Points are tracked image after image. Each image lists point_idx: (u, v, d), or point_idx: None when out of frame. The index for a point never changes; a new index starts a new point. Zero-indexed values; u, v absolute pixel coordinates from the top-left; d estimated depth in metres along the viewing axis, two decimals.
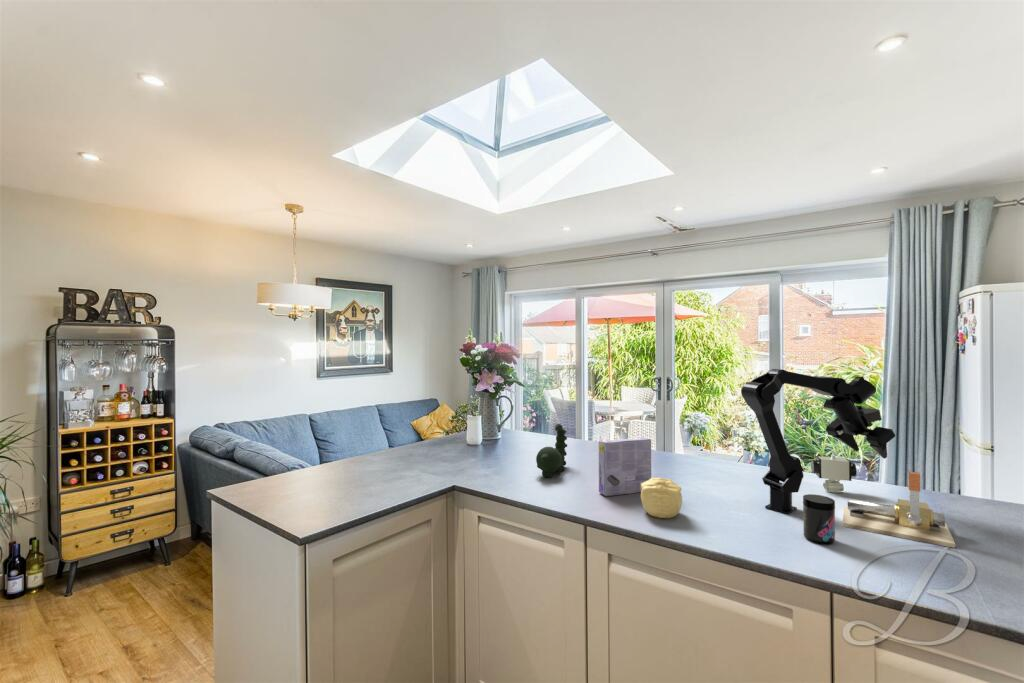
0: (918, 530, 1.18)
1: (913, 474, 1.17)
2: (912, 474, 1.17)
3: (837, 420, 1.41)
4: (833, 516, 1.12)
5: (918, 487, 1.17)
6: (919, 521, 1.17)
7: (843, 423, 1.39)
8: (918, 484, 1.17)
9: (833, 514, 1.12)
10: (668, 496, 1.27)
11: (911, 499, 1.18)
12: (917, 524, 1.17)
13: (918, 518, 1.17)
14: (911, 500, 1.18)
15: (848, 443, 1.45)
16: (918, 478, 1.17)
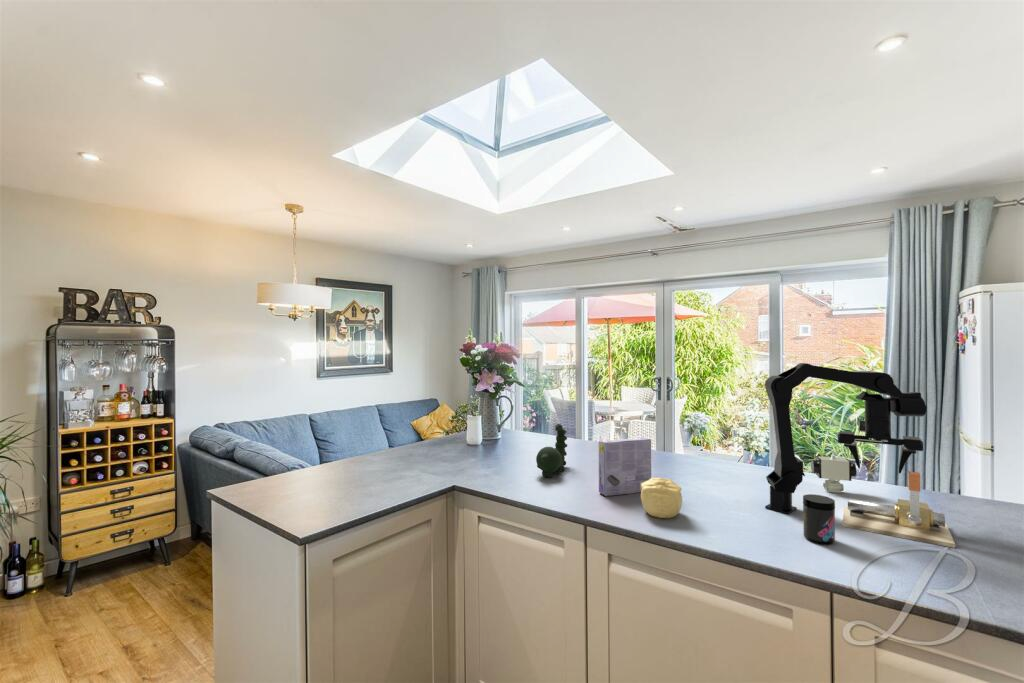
0: (918, 530, 1.18)
1: (913, 474, 1.17)
2: (912, 474, 1.17)
3: (870, 421, 1.28)
4: (833, 516, 1.12)
5: (918, 487, 1.17)
6: (919, 521, 1.17)
7: (878, 424, 1.27)
8: (918, 484, 1.17)
9: (833, 514, 1.12)
10: (668, 496, 1.27)
11: (911, 499, 1.18)
12: (917, 524, 1.17)
13: (918, 518, 1.17)
14: (911, 500, 1.18)
15: (858, 456, 1.31)
16: (918, 478, 1.17)
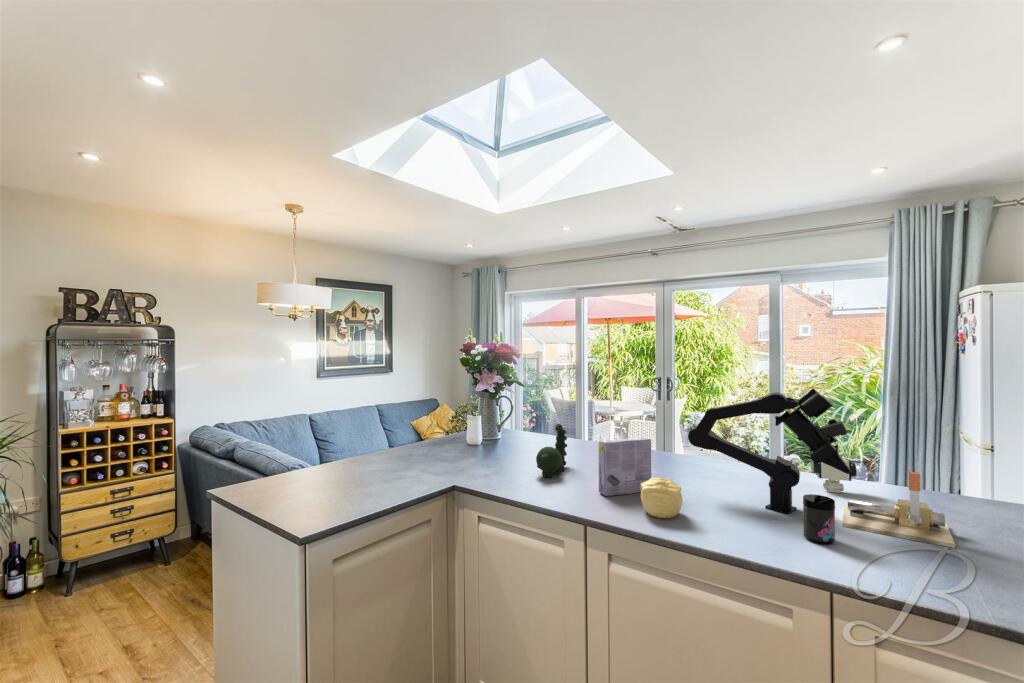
0: (918, 530, 1.18)
1: (913, 474, 1.17)
2: (912, 474, 1.17)
3: None
4: (833, 516, 1.12)
5: (918, 487, 1.17)
6: (919, 521, 1.17)
7: None
8: (918, 484, 1.17)
9: (833, 514, 1.12)
10: (668, 496, 1.27)
11: (911, 499, 1.18)
12: (917, 524, 1.17)
13: (918, 518, 1.17)
14: (911, 500, 1.18)
15: None
16: (918, 478, 1.17)
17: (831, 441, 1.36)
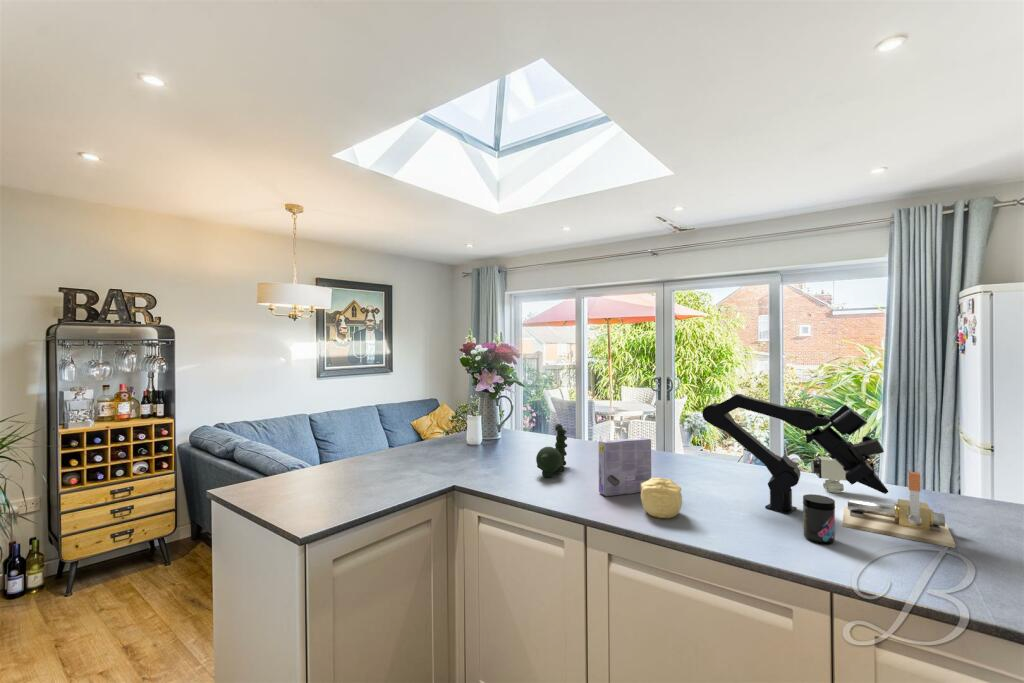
0: (918, 530, 1.18)
1: (913, 474, 1.17)
2: (912, 474, 1.17)
3: None
4: (833, 516, 1.12)
5: (918, 487, 1.17)
6: (919, 521, 1.17)
7: None
8: (918, 484, 1.17)
9: (833, 514, 1.12)
10: (668, 496, 1.27)
11: (911, 499, 1.18)
12: (917, 524, 1.17)
13: (918, 518, 1.17)
14: (911, 500, 1.18)
15: None
16: (918, 478, 1.17)
17: (865, 458, 1.31)
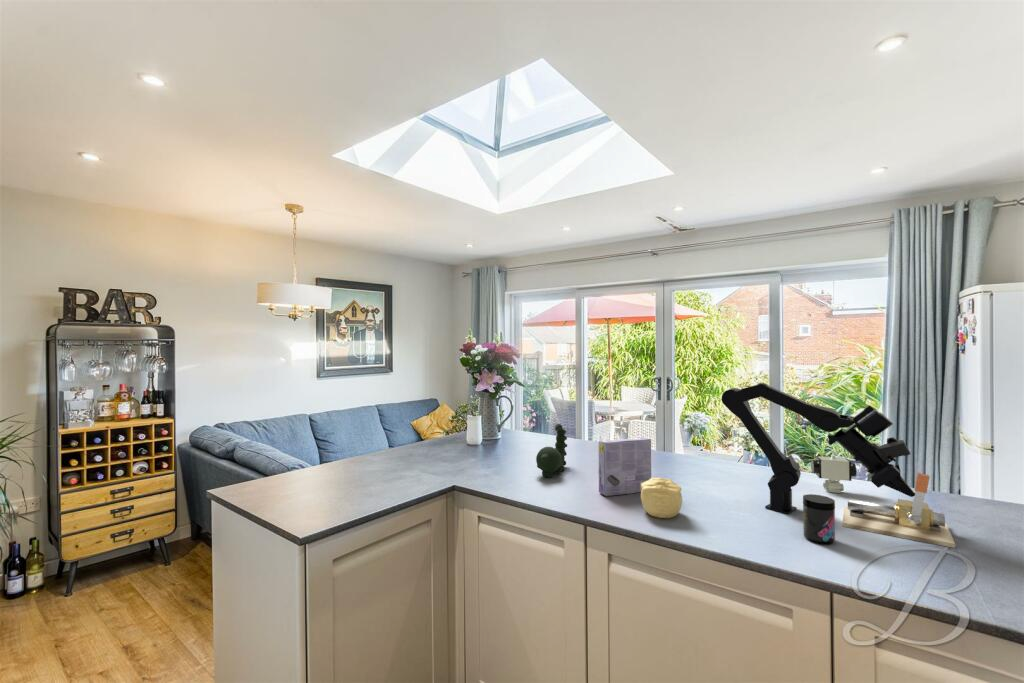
0: (918, 530, 1.18)
1: (922, 476, 1.16)
2: (921, 475, 1.16)
3: None
4: (833, 516, 1.12)
5: (925, 489, 1.16)
6: (919, 522, 1.17)
7: None
8: (925, 486, 1.16)
9: (833, 514, 1.12)
10: (668, 496, 1.27)
11: (915, 500, 1.17)
12: (916, 524, 1.17)
13: (918, 518, 1.17)
14: (915, 500, 1.17)
15: None
16: (927, 480, 1.16)
17: None
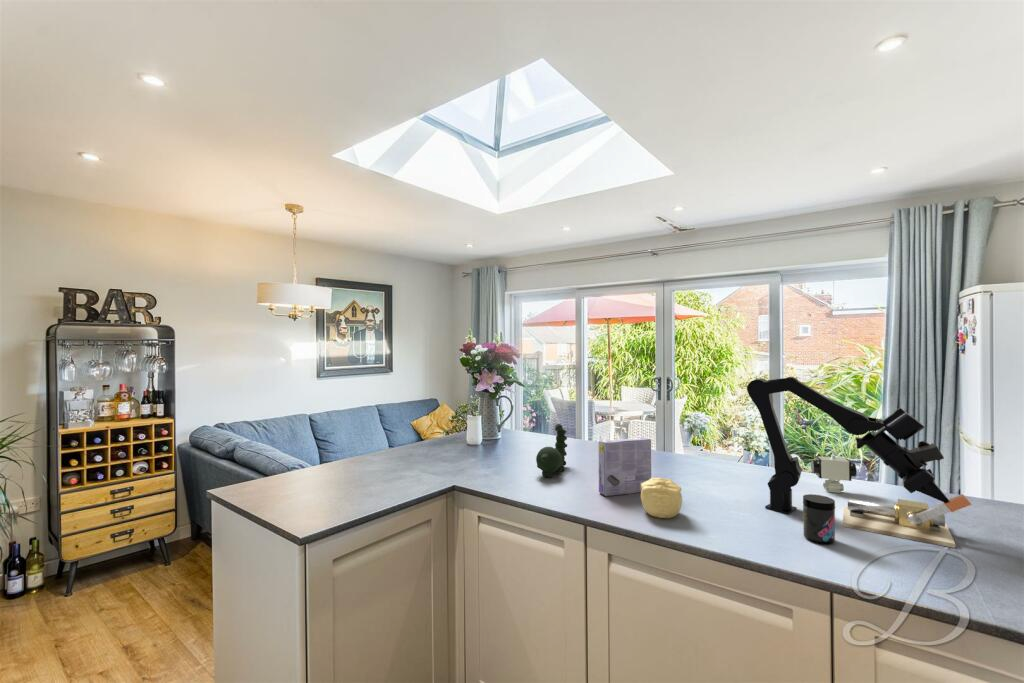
0: (918, 530, 1.18)
1: (966, 500, 1.11)
2: (965, 499, 1.11)
3: None
4: (833, 516, 1.12)
5: (955, 509, 1.13)
6: (917, 524, 1.17)
7: None
8: (958, 507, 1.12)
9: (833, 514, 1.12)
10: (668, 496, 1.27)
11: (935, 509, 1.15)
12: (913, 523, 1.17)
13: (920, 521, 1.17)
14: (934, 510, 1.15)
15: None
16: (965, 505, 1.11)
17: None
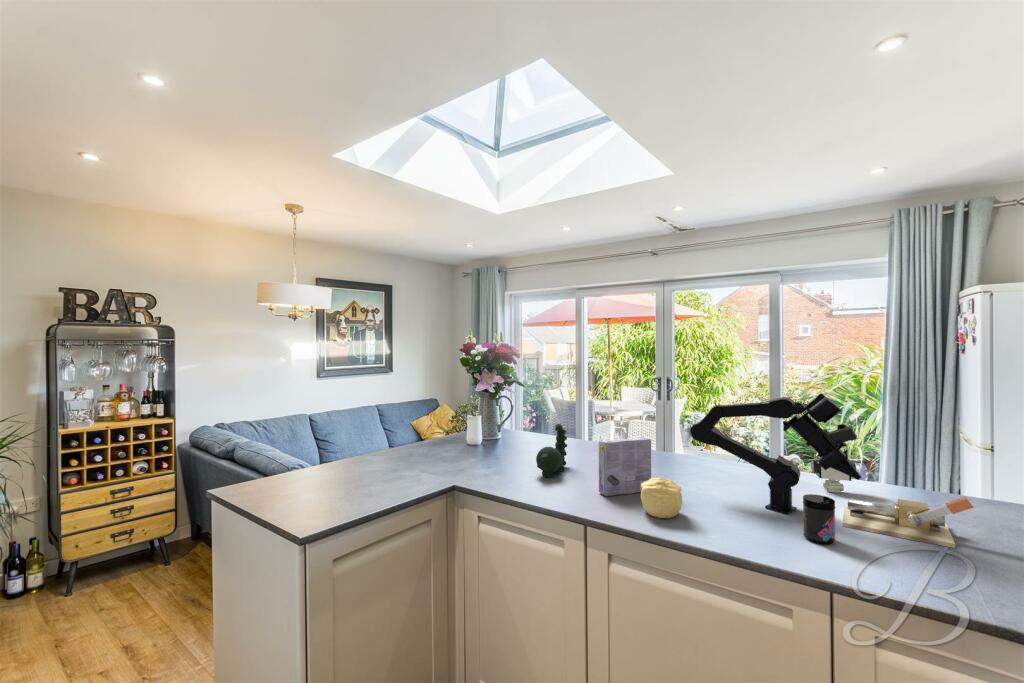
0: (918, 530, 1.18)
1: (968, 502, 1.11)
2: (967, 502, 1.11)
3: None
4: (833, 516, 1.12)
5: (956, 511, 1.12)
6: (917, 524, 1.17)
7: None
8: (959, 509, 1.12)
9: (833, 514, 1.12)
10: (668, 496, 1.27)
11: (936, 510, 1.15)
12: (912, 523, 1.18)
13: (920, 522, 1.17)
14: (935, 511, 1.15)
15: None
16: (967, 507, 1.11)
17: (841, 446, 1.34)
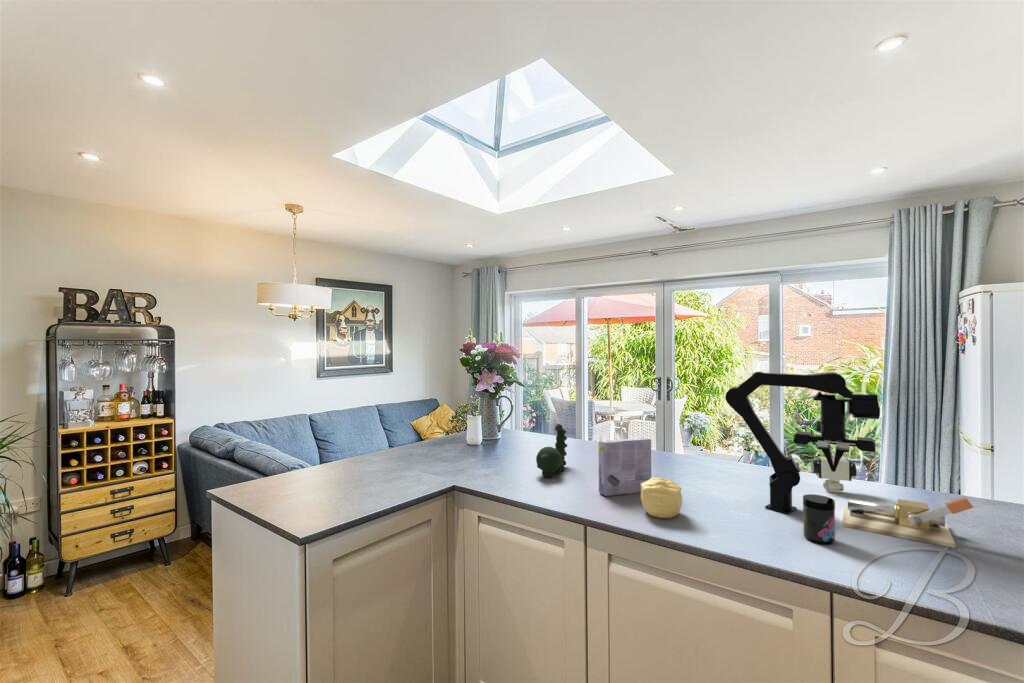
0: (918, 530, 1.18)
1: (968, 502, 1.11)
2: (967, 502, 1.11)
3: (824, 422, 1.28)
4: (833, 516, 1.12)
5: (956, 511, 1.12)
6: (917, 524, 1.17)
7: (832, 425, 1.27)
8: (959, 509, 1.12)
9: (833, 514, 1.12)
10: (668, 496, 1.27)
11: (936, 510, 1.15)
12: (912, 523, 1.18)
13: (920, 522, 1.17)
14: (935, 511, 1.15)
15: (831, 459, 1.29)
16: (967, 507, 1.11)
17: None
